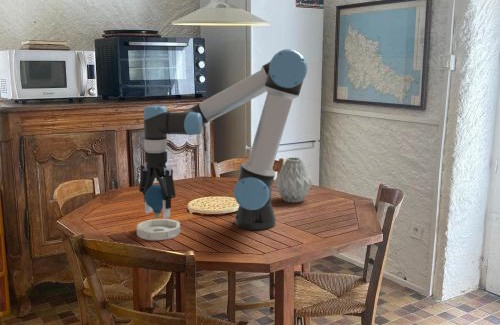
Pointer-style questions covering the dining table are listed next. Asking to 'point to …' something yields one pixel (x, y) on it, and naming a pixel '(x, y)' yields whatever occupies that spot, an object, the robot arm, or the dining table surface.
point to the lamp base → (158, 229)
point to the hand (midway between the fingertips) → (157, 214)
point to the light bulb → (155, 199)
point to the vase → (293, 180)
